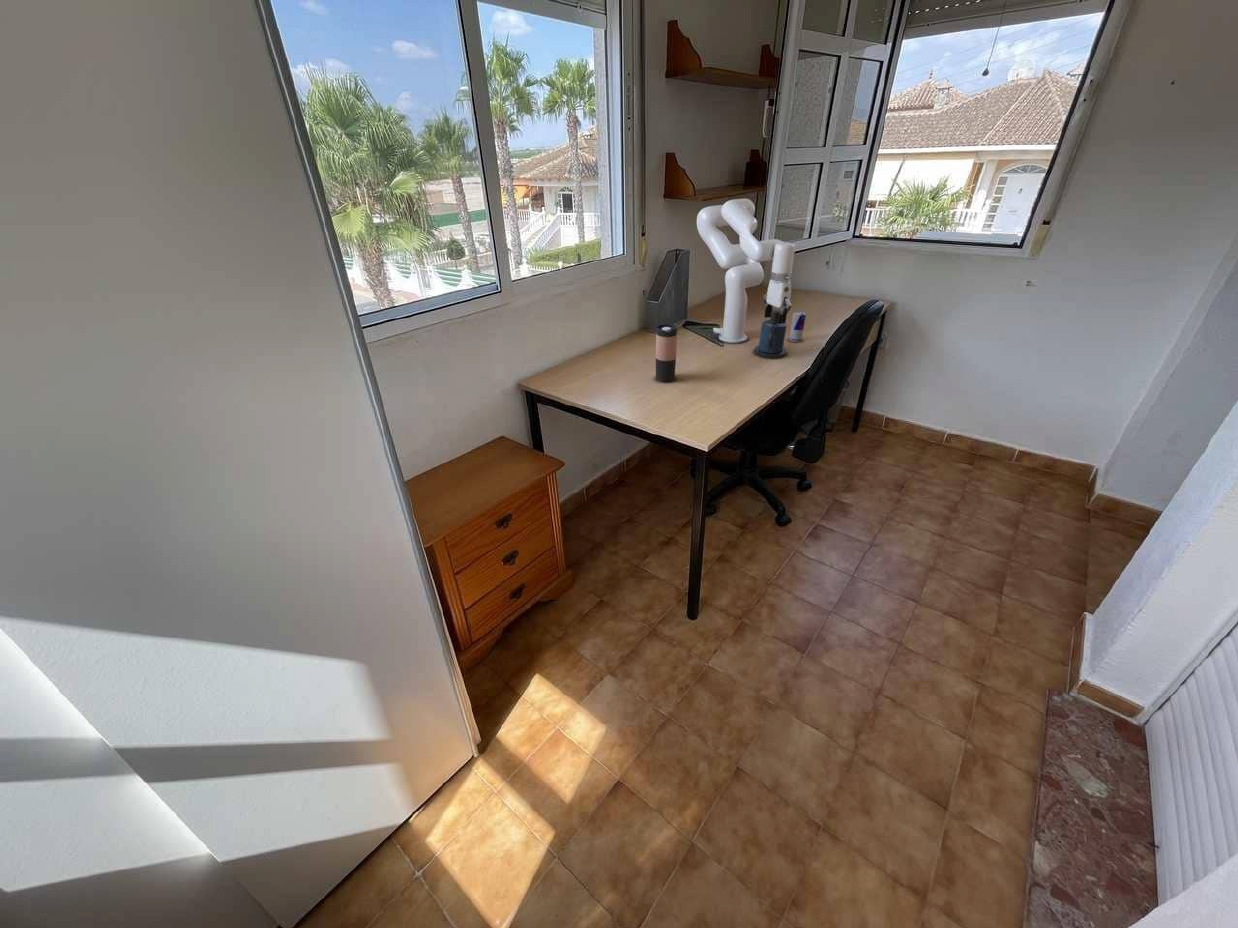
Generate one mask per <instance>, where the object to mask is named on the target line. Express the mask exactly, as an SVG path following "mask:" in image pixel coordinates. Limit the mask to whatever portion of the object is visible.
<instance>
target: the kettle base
mask: <svg viewBox="0 0 1238 928" xmlns="http://www.w3.org/2000/svg"><path fill="white" fill-rule="evenodd" d="M758 347H759V345H756V346H755V347H754V351H753V352H754V355H755V356H757V357H759V358H764V359H773V360H774V359H775V360H776V359H781V358H784V357H785V356H786V355H787V349H786V348H785V347H783V351H781V352H779V353H766V352H763V351H760V350H759V349H758Z"/></svg>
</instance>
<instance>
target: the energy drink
mask: <svg viewBox="0 0 1238 928" xmlns="http://www.w3.org/2000/svg"><path fill="white" fill-rule="evenodd" d="M806 317H807V316H806V312H804V311H795V312H793V314H792V319H791V323H790V324H791V325H790V332H789V338H788V340H789V341H790V342H793V343H800V342H801V341H802V339H803V334H804V329H805V323H806Z"/></svg>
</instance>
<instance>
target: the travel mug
mask: <svg viewBox="0 0 1238 928" xmlns="http://www.w3.org/2000/svg"><path fill="white" fill-rule="evenodd" d="M655 334H656V335H655V380H656V381H657V382H660V383H672V382H674V381H675V377H676V364H677V344H678V343H677V341H678V326H677V325H675V324H669V323H666V324H665V323H664V324H659V325H657V326H656V333H655Z"/></svg>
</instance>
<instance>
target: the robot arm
mask: <svg viewBox="0 0 1238 928" xmlns="http://www.w3.org/2000/svg"><path fill="white" fill-rule="evenodd" d="M755 211H756V208H755V204H754V202H753V201H752V200H751V199H749V198H736V199H735V198H734V199H730V200H728V201H726V202H724V203H723V204H717V205H711V206H710V205H709V206H706V207H704V208H702V209H701V210H700V211H699V212H698V213H697V216H696V229H697V232H698V235H699V236H700V238H701V239H702V241H703V242H704V243H705V244H706V246H707V247H708V249H709V250H710V253H711V254H712V256H713V257H714V259H715V261H716V262H717V264H718V265H719V267H720V268H721V269H723V270H727V271H726V272H725V275H724V286H725V301H724V312H723V324H722V327H720V328H719V327H713V329H712V332H713V333H714V334H719V335H718V340H720V341H722V342H724V343H728V344H740V343H743V342H746V341H747V340H748V336H747V335H746V334H745V326H746V319H747V318H746V317H747V308H748V301H749V299H748V295H747V292H746V289H748V288H752V287H757V286H759V285H760V284H761V283H762V282H763V281H764V278H765V273H764V268H763V267H762V264H761V263H762V262H766V261H767V262H768V261H772V264H771V273H770V278H769V279H770V280H769V283H768V287H767V291H766V293H765V294H763V302H764V315H763V317H764V319H766V318H770V317H771V311H772V310H774V309H773V307H775V308H777V309H779V311H780V314H779V319H778V324H784V323H785V322H786V321H787V316H788V315H787V314H789V312H790V311H791V308H792V306H793V305H792V303H791V298H792V281H791V277H792V271H793V265H794V258H795V251H796V245H795V244H794V243H793V242H786V241H783V240H780V239H778V238H773V239H765V240H758V239H757V238H756V237H755V236H754V235H753V234H754V232H755V231H756V229H757V227H758V220H757V219H756V218H755ZM728 226H729V227H730V228H732V229H733V231H735V232H736V233H737V235H738V236H739V238H738V239H739V243H737V244H736V243H734V244H733V243H731V242H730V241H729V239H728V237H727V236H726V234H725V233H724V232H722V230H720V229H719V228H720V227H728ZM760 262H761V263H760ZM786 323H787V322H786Z"/></svg>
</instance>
